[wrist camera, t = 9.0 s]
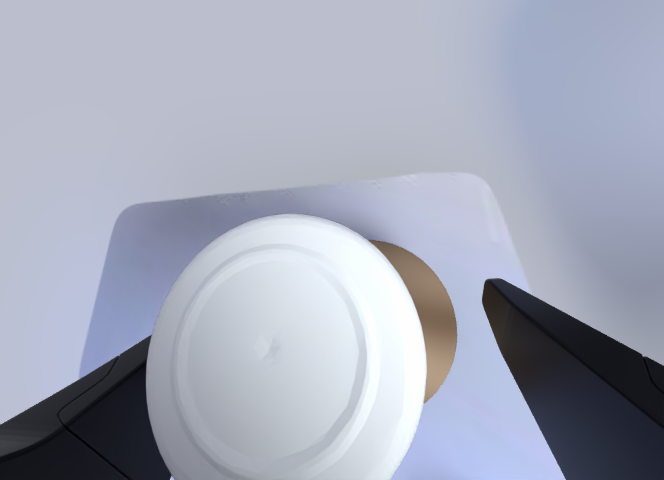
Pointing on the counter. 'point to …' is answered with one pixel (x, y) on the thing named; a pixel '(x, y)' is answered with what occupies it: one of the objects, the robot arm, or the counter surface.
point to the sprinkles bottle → (286, 358)
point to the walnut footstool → (427, 312)
